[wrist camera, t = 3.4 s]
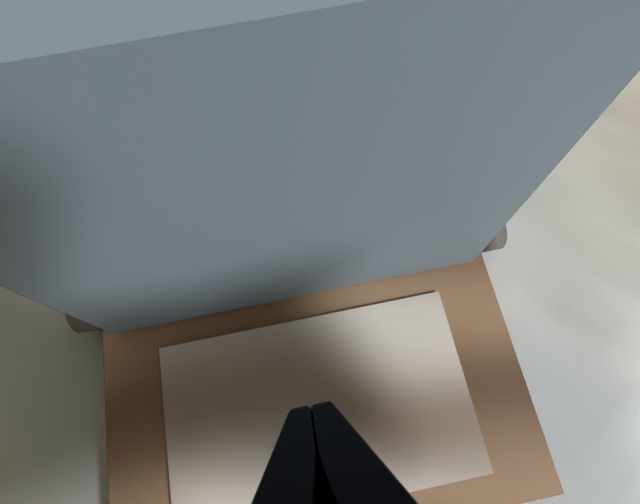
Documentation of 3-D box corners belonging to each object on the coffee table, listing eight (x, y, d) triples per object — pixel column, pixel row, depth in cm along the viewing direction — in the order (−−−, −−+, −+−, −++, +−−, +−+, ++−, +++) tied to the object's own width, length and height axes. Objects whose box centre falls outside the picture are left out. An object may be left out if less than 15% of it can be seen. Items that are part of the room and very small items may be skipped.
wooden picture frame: (575, 483, 15) (605, 490, 14) (98, 592, 15) (67, 614, 13) (481, 219, 19) (496, 199, 17) (89, 296, 18) (64, 283, 16)
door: (472, 261, 17) (757, -66, 6) (113, 333, 16) (-376, 127, 5) (455, 207, 18) (674, -175, 6) (110, 274, 17) (-319, -20, 6)
